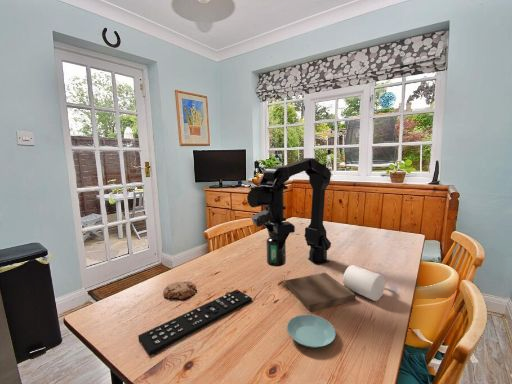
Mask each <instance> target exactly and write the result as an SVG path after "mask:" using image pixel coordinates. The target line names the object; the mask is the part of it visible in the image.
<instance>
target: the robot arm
mask: <svg viewBox="0 0 512 384" xmlns="http://www.w3.org/2000/svg"><path fill="white" fill-rule="evenodd" d="M303 172H305V174H306V175H307V176H308V180H309V181H308V182H309V184H310V186H311V188H312V194H311V197H312V198H311V211H310V223H309V224H308V225H307V226H305V228H304V237H305V238H304V240H305V241H306V245H307V246H309V248H310V249H309V251H308V254H309V255H308V258H307V259H308V260H309V261H310V262H312V263H313V264H314V265H320V264H321V265H322V264H326V263H330V260H328V251H329V250H330V249H331V246H332V242H331V241H330V239H328V237H327V230H326V228H325V225H324V213H325V199H326V197H325V195H326V189H327V188H328V186H329V185H330V182H331V177H332V171H331V170H330V168H328V167H327V166H326V165H325V164H323V163H320V162H319V161H318V160H316V158H314V157H304V158H303V159H300V160H297V161H295V162H292V163H288V164H285V165H282V166H281V165H279V166H269V167H266V168H265V169H264V172H263V175H262V176H261V178H260V180H259V181H258V184H257V186H256V185H255V186H251V187H250V190H249V191H248V193H247V195H246V199H247V203H248V205H249V206H250V207H251V208H258V207H263V206H264V209H263V210H261V211H259V212H256V213H255V214H252V215H251V220H252V223H253V225H254V226H256V227H257V228H259V227H262V226H264V227H265V228H266V230H267V233H268V235H269V231H270V230H273V229H274V231H272V232H273V233H274V234H275V235H276V237H277V244H278V249H282V247H283V245H284V243H285V242H287V239H288V237H289V236H290V234H293V233H295V231H296V228H295V227H296V226H295V225H294V224H293V223H291V222H290V221H287V218H286V217H285V215H284V214H285V212H284V211H285V210H286V209H287V208H286V206H285V205H284V190H288V189H289V187H288V186H287V185H286V184H285V183H286V182H288V181H289V180H290V178H291V177H292V176H295V175H298V174H301V173H303Z"/></svg>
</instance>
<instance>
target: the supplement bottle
mask: <svg viewBox="0 0 512 384" xmlns="http://www.w3.org/2000/svg"><path fill="white" fill-rule="evenodd" d="M272 231H274V229H273V230H270V231H269V234H268V238H266V241H265V242H266V244H265V245H266V263H267V265H268V266H271V267H276V268H277V267H282V266H284V265H285V264H286V261H287V260H286V259H287V257H286V252H287V251H286V249H287V248H286V242H287V241H285V243H284V245H283V247H282V249H278V244H277V237H276V235H275V234H274V233H273V232H272Z"/></svg>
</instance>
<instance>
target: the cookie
mask: <svg viewBox="0 0 512 384" xmlns="http://www.w3.org/2000/svg"><path fill="white" fill-rule="evenodd" d="M196 290H197V284H195V283H193V282H192V281H175V282H173V283H170V284H168V285H167V286H166V287H165V288H164V289H163V293H162V295H163V297H164V298H167V299H178V300H183V299H185V298H188V297H191V296H193V295H194V294H195V292H196Z"/></svg>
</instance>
